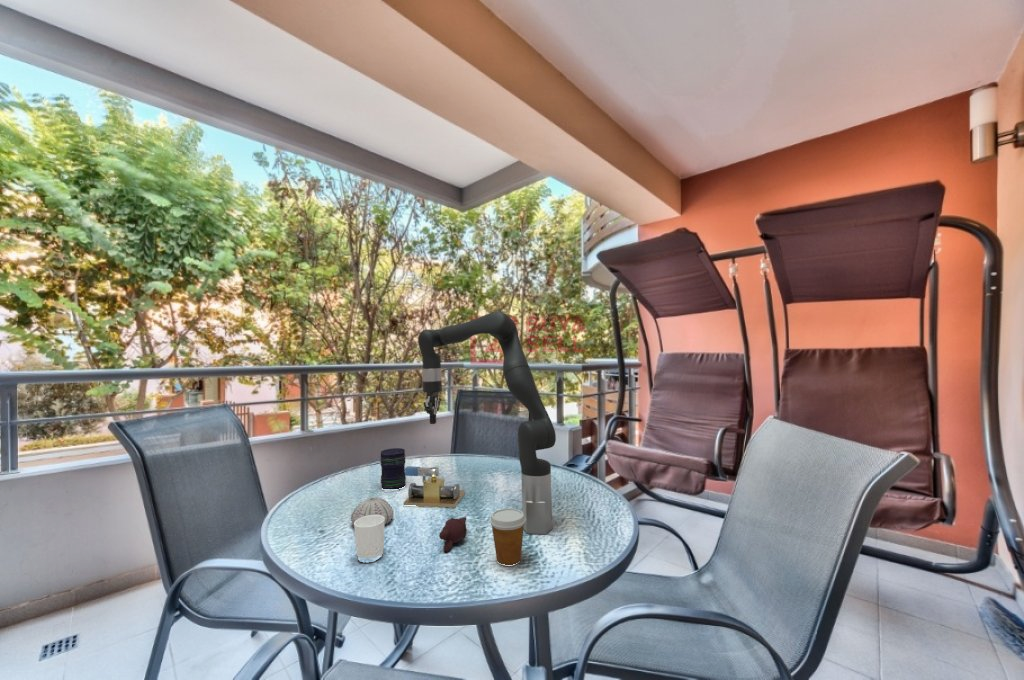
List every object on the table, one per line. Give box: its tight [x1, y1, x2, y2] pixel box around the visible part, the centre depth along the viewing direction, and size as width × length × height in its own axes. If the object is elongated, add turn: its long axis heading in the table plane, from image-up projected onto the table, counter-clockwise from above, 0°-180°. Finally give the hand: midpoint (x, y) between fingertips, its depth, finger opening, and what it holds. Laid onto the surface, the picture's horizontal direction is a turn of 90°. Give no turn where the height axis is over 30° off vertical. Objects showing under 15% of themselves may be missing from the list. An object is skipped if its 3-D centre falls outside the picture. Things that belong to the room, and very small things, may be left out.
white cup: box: [353, 515, 386, 558], centre depth 111 cm, size 8×8×10 cm
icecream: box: [438, 516, 468, 552], centre depth 119 cm, size 7×7×15 cm
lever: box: [405, 465, 440, 478], centre depth 152 cm, size 13×4×3 cm, turn 78°
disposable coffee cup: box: [489, 507, 526, 565], centre depth 108 cm, size 10×10×12 cm
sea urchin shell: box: [350, 496, 395, 525], centre depth 133 cm, size 13×14×8 cm
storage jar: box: [379, 447, 407, 489], centre depth 167 cm, size 10×10×15 cm
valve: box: [403, 474, 466, 509], centre depth 152 cm, size 14×19×10 cm
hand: (433, 423), depth 161 cm, fingers closed
